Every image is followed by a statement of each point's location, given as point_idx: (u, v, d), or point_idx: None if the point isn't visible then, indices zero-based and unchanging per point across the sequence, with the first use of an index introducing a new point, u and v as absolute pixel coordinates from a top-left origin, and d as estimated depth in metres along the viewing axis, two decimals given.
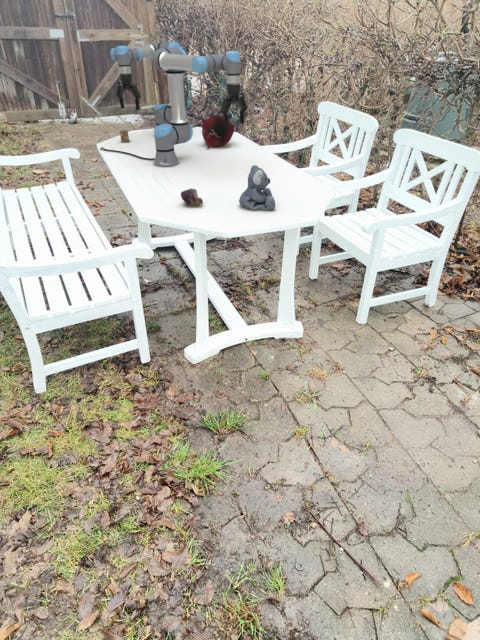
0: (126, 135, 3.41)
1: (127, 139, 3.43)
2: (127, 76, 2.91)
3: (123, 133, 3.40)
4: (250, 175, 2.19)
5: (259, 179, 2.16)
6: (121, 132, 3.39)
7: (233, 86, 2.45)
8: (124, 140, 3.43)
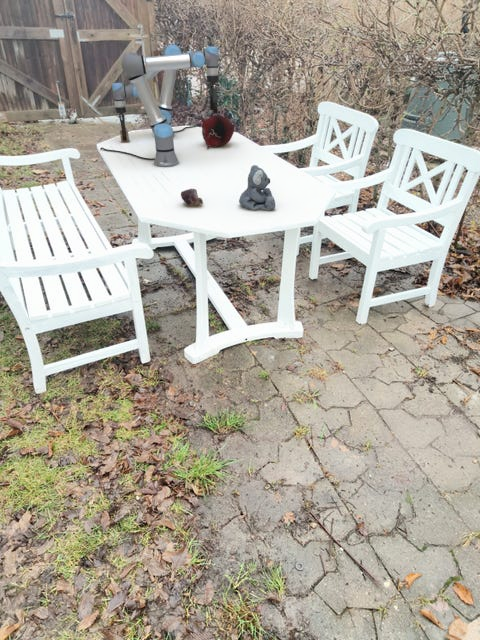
0: (126, 135, 3.41)
1: (127, 139, 3.43)
2: None
3: None
4: (250, 175, 2.19)
5: (259, 179, 2.16)
6: (121, 132, 3.39)
7: (217, 77, 2.82)
8: None
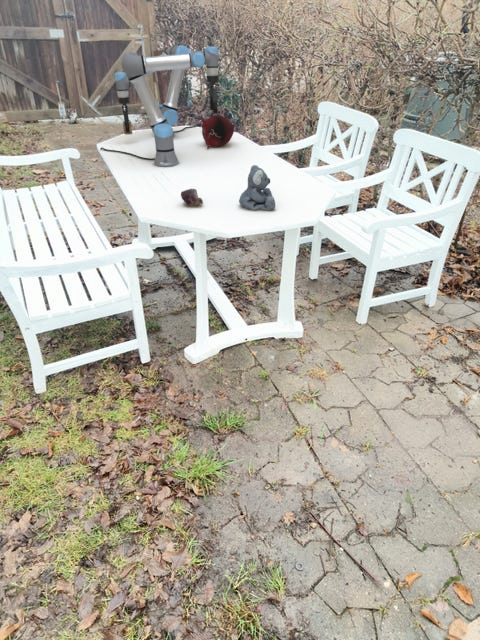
0: (129, 127, 3.30)
1: (130, 131, 3.32)
2: None
3: None
4: (250, 175, 2.19)
5: (259, 179, 2.16)
6: (124, 123, 3.28)
7: (217, 77, 2.82)
8: None
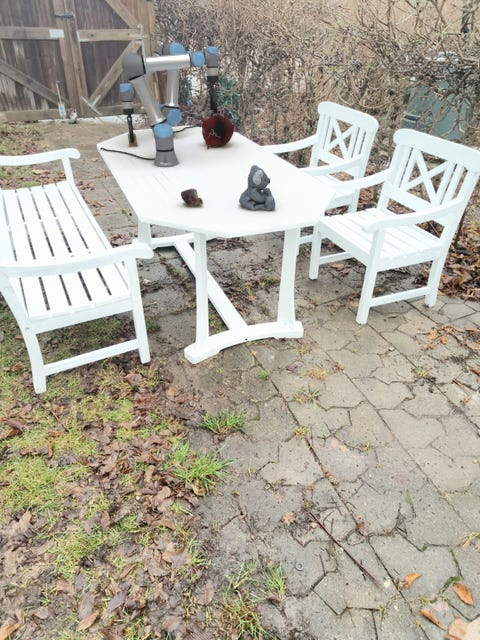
0: (134, 139, 3.30)
1: (135, 143, 3.32)
2: None
3: None
4: (250, 175, 2.19)
5: (259, 179, 2.16)
6: (129, 136, 3.29)
7: (217, 77, 2.82)
8: (132, 144, 3.32)
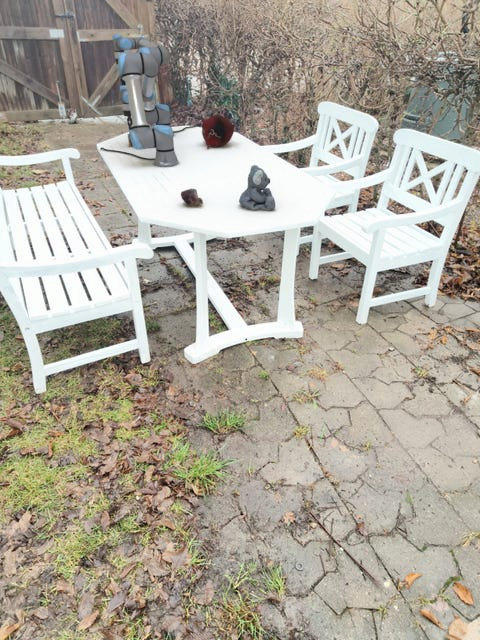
0: None
1: None
2: None
3: None
4: (250, 175, 2.19)
5: (259, 179, 2.16)
6: (129, 136, 3.29)
7: None
8: None
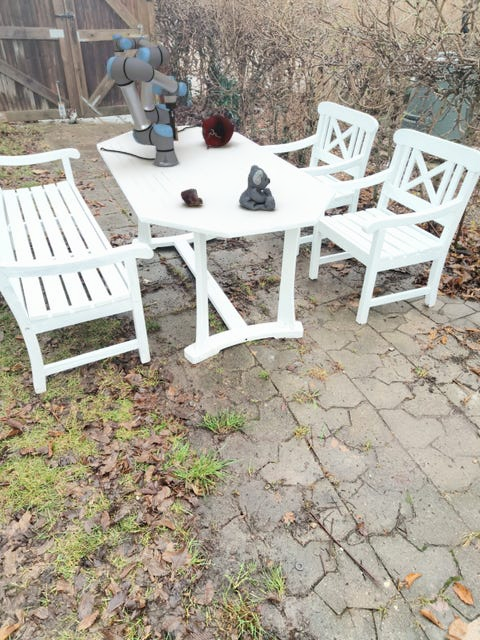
0: None
1: (176, 137, 3.15)
2: None
3: None
4: (250, 175, 2.19)
5: (259, 179, 2.16)
6: None
7: (174, 103, 3.03)
8: None
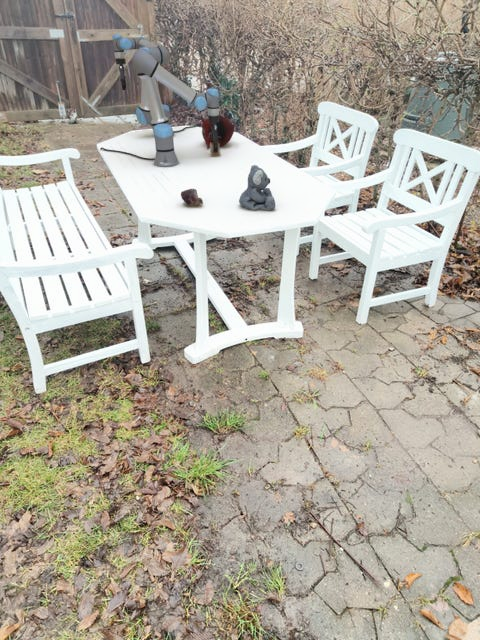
0: None
1: (218, 153, 3.08)
2: None
3: None
4: (250, 175, 2.19)
5: (259, 179, 2.16)
6: (212, 145, 3.05)
7: (217, 117, 2.95)
8: (215, 153, 3.08)
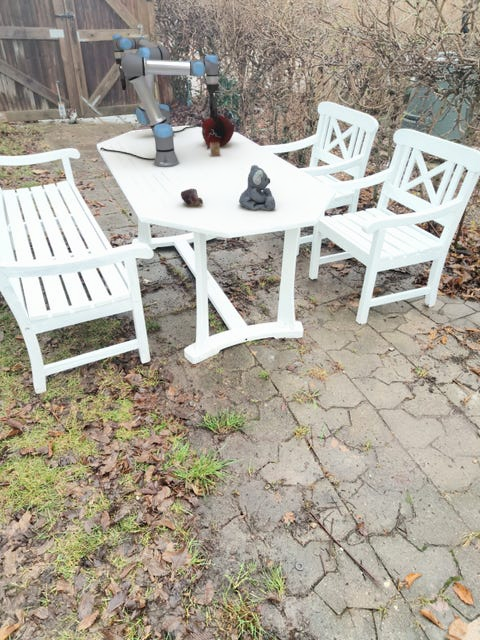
0: (217, 148, 3.06)
1: (218, 153, 3.08)
2: None
3: (214, 145, 3.05)
4: (250, 175, 2.19)
5: (259, 179, 2.16)
6: (212, 145, 3.05)
7: (216, 85, 2.84)
8: (215, 153, 3.08)
